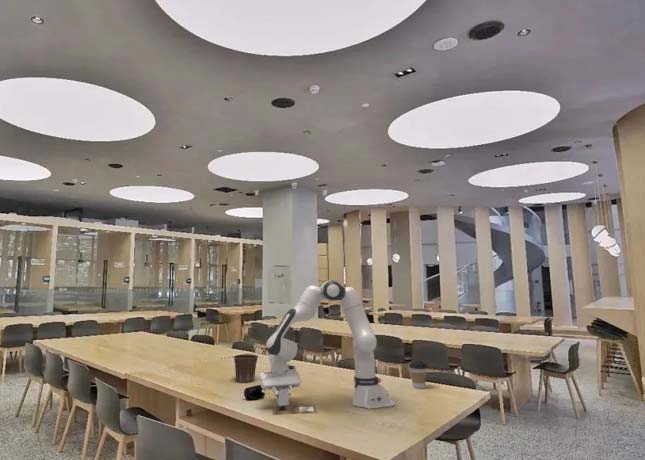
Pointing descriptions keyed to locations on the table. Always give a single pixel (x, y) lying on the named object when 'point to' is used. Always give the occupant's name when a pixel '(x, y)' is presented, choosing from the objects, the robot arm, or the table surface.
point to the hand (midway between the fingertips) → (283, 395)
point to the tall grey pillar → (283, 396)
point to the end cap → (254, 393)
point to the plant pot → (245, 367)
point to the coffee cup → (418, 374)
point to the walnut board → (293, 409)
